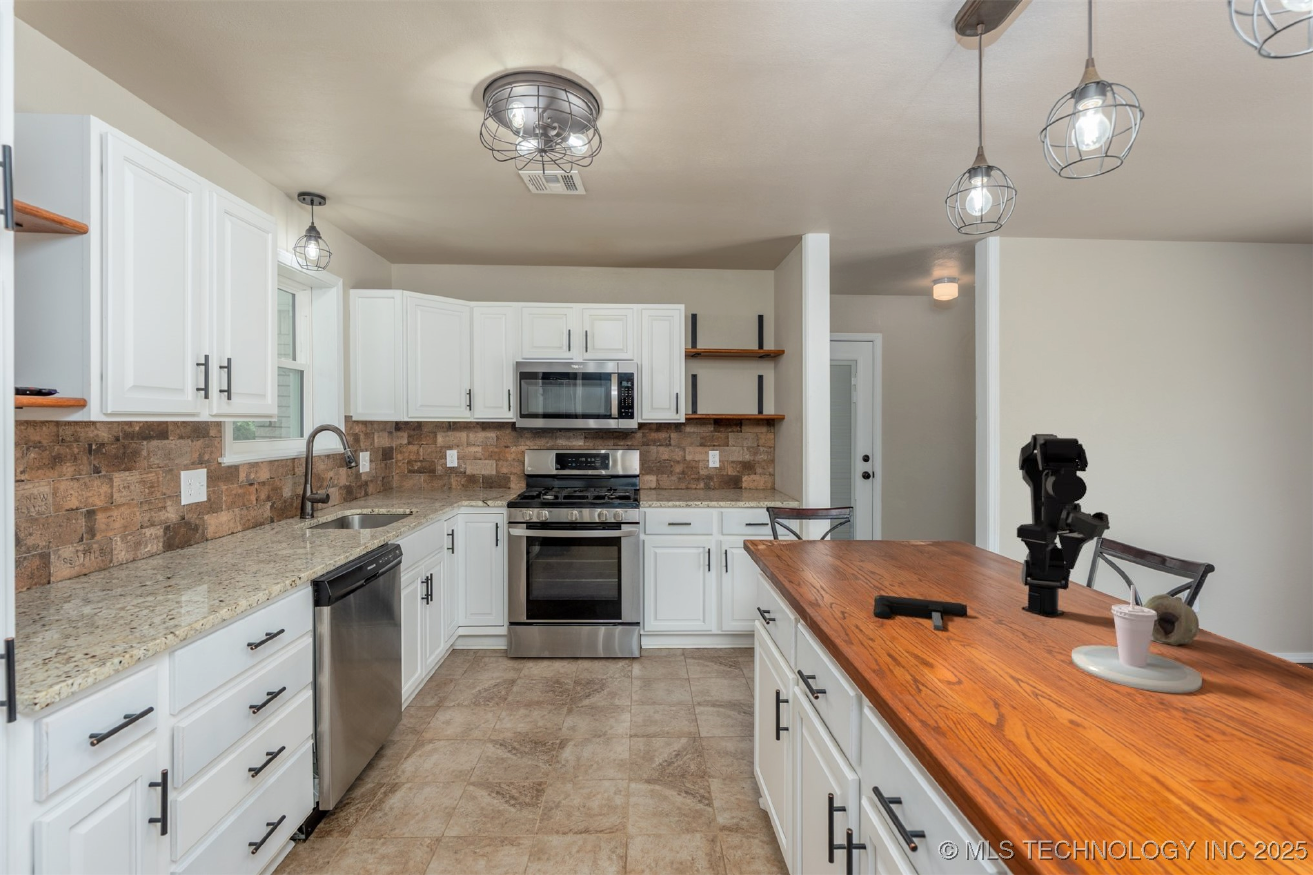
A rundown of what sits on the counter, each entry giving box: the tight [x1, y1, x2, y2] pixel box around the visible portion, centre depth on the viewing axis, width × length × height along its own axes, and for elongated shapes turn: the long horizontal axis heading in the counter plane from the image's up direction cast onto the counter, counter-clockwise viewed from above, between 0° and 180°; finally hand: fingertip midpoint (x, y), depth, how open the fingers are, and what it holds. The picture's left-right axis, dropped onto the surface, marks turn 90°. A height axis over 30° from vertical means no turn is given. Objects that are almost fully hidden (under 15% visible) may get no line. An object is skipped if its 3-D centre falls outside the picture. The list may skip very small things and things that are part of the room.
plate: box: [1071, 644, 1203, 694], centre depth 106 cm, size 18×18×1 cm
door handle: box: [872, 594, 968, 632], centre depth 135 cm, size 3×20×16 cm
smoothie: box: [1110, 584, 1157, 667], centre depth 106 cm, size 6×6×14 cm
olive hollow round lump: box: [1142, 593, 1200, 646], centre depth 121 cm, size 9×8×10 cm
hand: (1057, 571), depth 125 cm, fingers open, 9 cm apart
